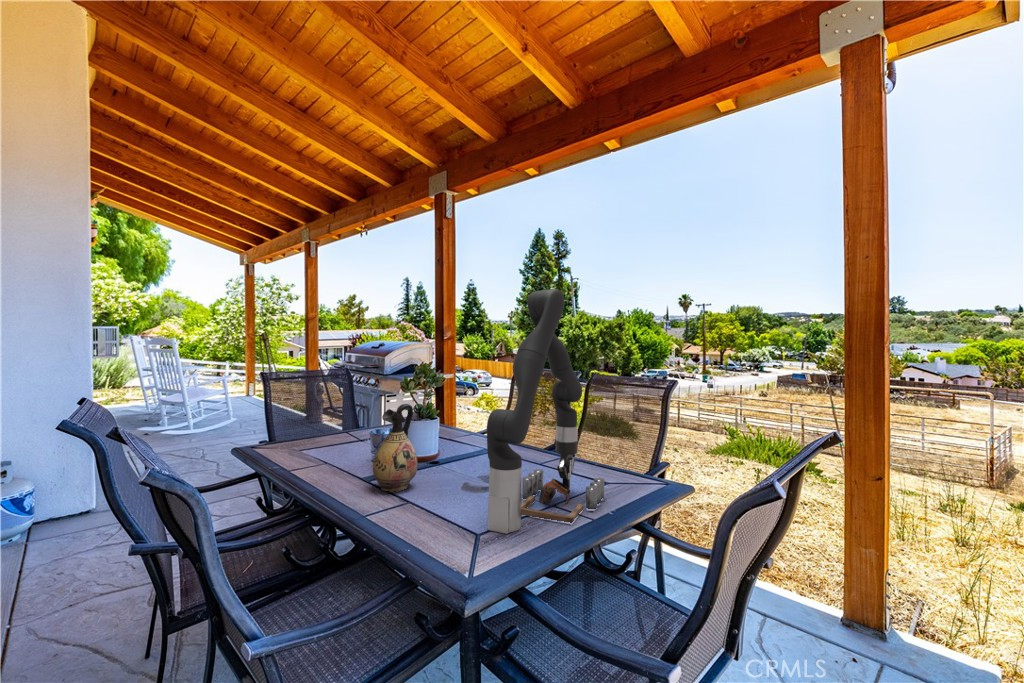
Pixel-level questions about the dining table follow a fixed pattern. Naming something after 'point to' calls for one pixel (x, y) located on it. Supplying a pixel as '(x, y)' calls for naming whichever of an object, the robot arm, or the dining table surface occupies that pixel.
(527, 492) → the metal posts
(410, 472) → the ceramic jug
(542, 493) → the pottery mug
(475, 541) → the dining table surface
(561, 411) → the robot arm
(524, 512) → the walnut frame
